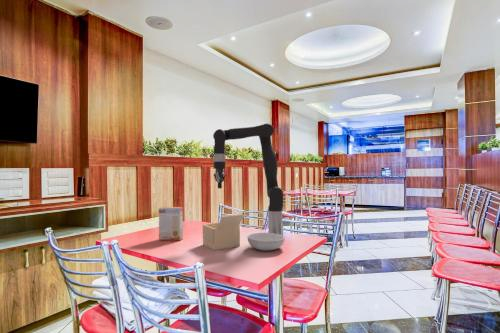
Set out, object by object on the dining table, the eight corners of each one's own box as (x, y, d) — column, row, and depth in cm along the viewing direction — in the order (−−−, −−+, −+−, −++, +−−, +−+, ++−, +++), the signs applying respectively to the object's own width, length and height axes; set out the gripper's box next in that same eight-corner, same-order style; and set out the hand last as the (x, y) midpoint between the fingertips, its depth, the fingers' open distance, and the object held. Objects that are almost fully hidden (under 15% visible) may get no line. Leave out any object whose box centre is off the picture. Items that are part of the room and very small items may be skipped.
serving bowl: (279, 255, 146) (279, 242, 146) (242, 252, 153) (241, 239, 154) (288, 245, 166) (288, 233, 166) (254, 242, 173) (254, 231, 173)
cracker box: (183, 238, 184) (183, 206, 185) (180, 241, 178) (179, 207, 179) (162, 238, 186) (162, 206, 186) (158, 240, 180) (158, 207, 180)
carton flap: (222, 216, 151) (222, 217, 151) (244, 213, 159) (244, 214, 158) (216, 228, 156) (216, 229, 156) (238, 225, 164) (238, 226, 164)
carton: (201, 244, 169) (201, 224, 169) (226, 240, 179) (226, 221, 179) (214, 251, 155) (213, 229, 156) (240, 246, 165) (240, 225, 165)
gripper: (229, 160, 176) (229, 188, 176) (219, 161, 187) (220, 187, 187) (218, 160, 172) (219, 189, 172) (209, 161, 183) (209, 188, 183)
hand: (219, 188), depth 180 cm, fingers closed
